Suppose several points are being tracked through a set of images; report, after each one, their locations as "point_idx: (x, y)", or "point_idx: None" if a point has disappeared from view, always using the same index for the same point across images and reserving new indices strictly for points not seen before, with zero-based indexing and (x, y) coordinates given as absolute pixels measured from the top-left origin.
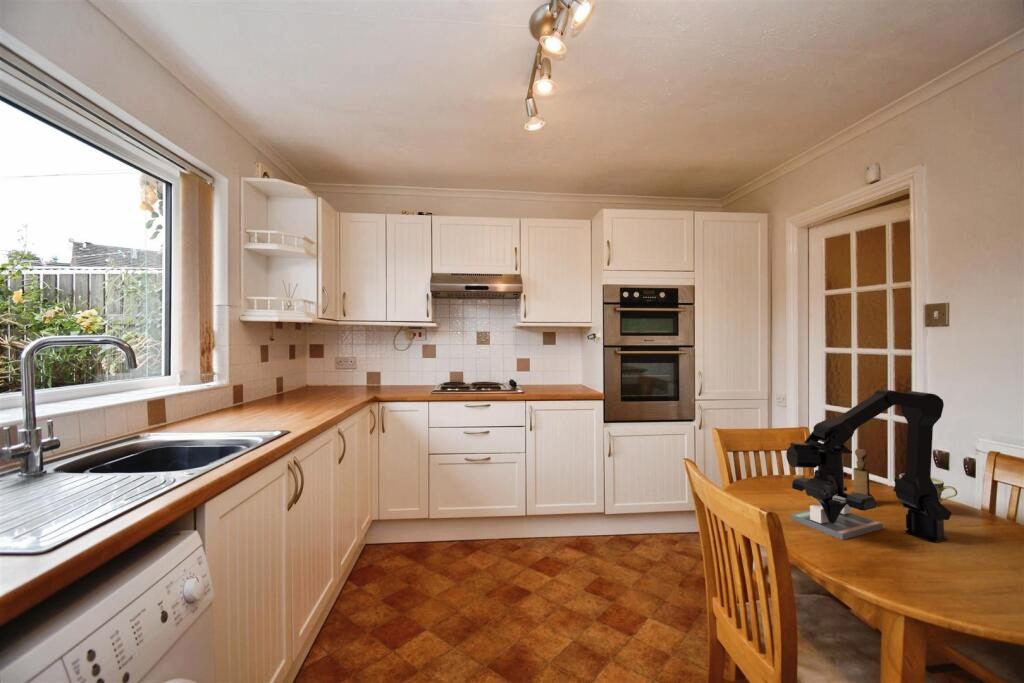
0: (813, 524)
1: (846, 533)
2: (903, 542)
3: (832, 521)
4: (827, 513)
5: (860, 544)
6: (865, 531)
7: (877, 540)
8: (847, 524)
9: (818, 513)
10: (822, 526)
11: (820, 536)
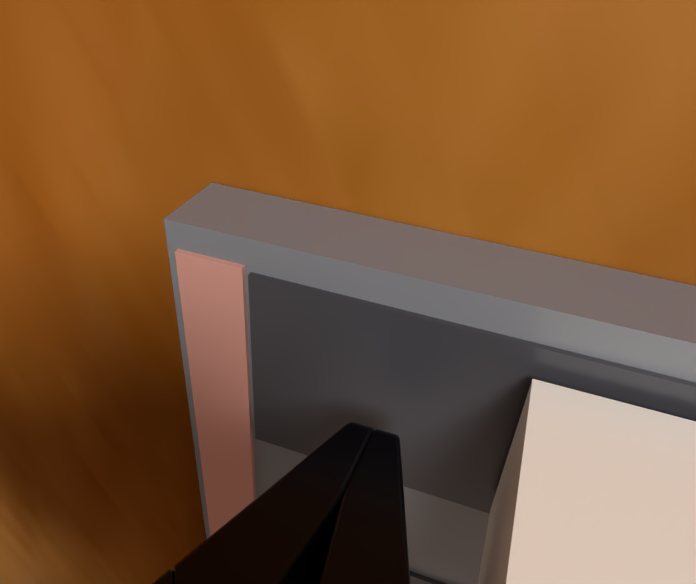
0: (663, 318)
1: (179, 307)
2: (59, 512)
3: (325, 443)
4: (349, 576)
5: (77, 226)
6: None
7: (116, 439)
8: None
9: (575, 561)
10: (484, 302)
11: (432, 4)
